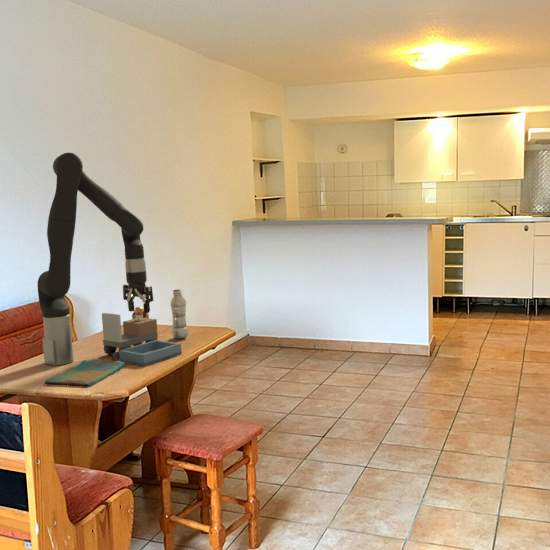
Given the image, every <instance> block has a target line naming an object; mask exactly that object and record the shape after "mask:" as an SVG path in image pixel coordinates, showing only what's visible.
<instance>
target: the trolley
mask: <svg viewBox="0 0 550 550" xmlns="http://www.w3.org/2000/svg"><path fill="white" fill-rule="evenodd" d="M101 321H102V322H101V323H102V335H103V336H102V337H103V339H102V344H103V351H104V353H105V354H107V355H112V360H113V359H114V361H120V357H119V351H120V350H123V349H127V348H130V347H134V346H137V345H141V344H143V342H145V343H147V342H151V341H154V340H158V337H159V335H158V323H157V321H158V320H157V319H156V318H150V317H149V318H143V321H141V322H136V319H128V320H125V321H122V323H121V314H117V313H110V312H109V313H108V312H102V313H101ZM122 329H123V333H122ZM117 348H118V351H117Z"/></svg>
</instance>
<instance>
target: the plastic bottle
mask: <svg viewBox="0 0 550 550" xmlns="http://www.w3.org/2000/svg"><path fill="white" fill-rule="evenodd" d="M172 295H173V297H172V298H171V300H170V303H169V304H170V309H171V316H172V329H171V334H172V335H171V336H172V337H173V338H174V339H175V340H182V338H183V339H186V338H187V337H188V336H189V330H188V326H187V325H188V324H187V320H186V319H187V317H186V313H187V301H186V299H185V298H184V296H183V290H182V289H179V288H178V289H173V290H172Z"/></svg>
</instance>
